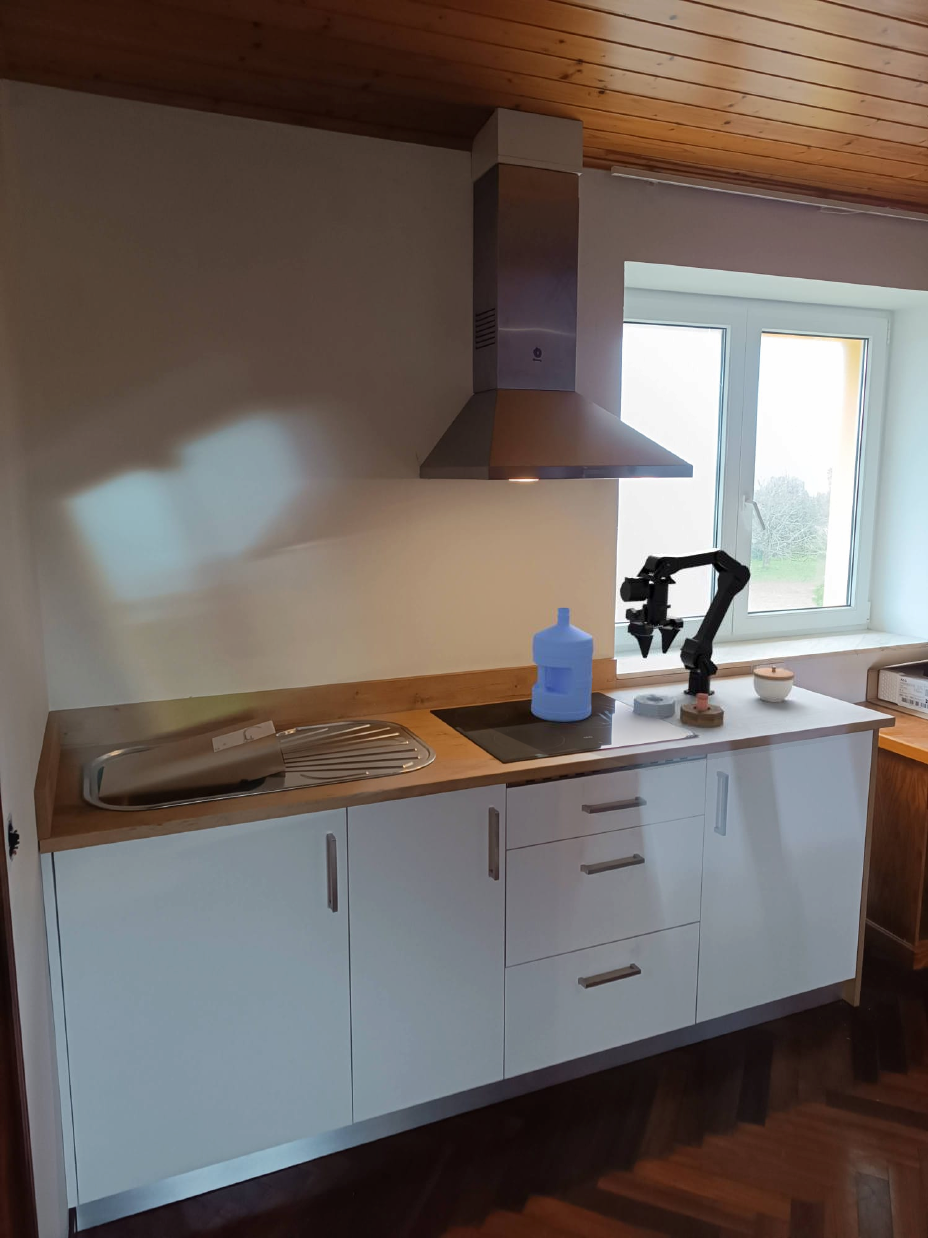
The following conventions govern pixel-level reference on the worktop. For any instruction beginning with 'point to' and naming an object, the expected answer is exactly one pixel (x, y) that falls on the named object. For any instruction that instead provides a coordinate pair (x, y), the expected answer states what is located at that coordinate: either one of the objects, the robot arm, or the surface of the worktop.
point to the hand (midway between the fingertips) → (654, 655)
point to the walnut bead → (701, 715)
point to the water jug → (562, 671)
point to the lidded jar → (772, 683)
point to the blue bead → (654, 705)
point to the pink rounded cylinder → (702, 702)
